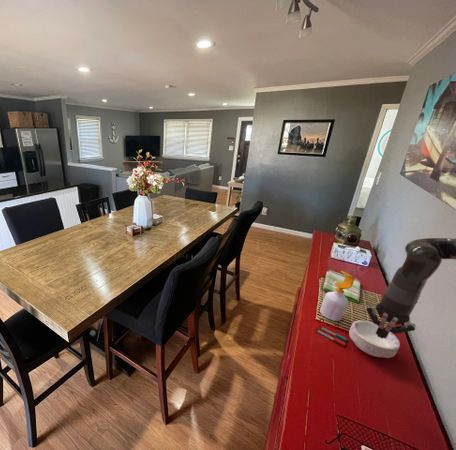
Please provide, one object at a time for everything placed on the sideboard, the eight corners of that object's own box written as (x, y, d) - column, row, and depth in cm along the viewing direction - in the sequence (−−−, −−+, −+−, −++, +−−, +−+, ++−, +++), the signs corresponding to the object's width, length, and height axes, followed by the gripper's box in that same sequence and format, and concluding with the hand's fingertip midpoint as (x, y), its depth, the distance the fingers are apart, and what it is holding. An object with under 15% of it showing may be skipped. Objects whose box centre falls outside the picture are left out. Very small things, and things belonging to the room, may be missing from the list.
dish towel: (359, 284, 143) (362, 279, 142) (359, 304, 126) (362, 298, 125) (326, 273, 153) (327, 268, 152) (321, 290, 136) (323, 285, 135)
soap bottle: (315, 308, 122) (330, 267, 112) (331, 307, 123) (347, 267, 114) (328, 322, 114) (346, 279, 104) (346, 320, 115) (364, 278, 105)
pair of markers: (344, 344, 102) (345, 342, 102) (344, 346, 101) (344, 345, 101) (318, 330, 109) (319, 328, 108) (317, 332, 108) (317, 330, 107)
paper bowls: (339, 330, 109) (345, 317, 106) (376, 335, 107) (383, 322, 104) (359, 359, 95) (366, 345, 92) (402, 367, 93) (411, 352, 90)
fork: (346, 340, 104) (347, 338, 104) (345, 342, 103) (346, 340, 103) (322, 327, 111) (322, 325, 110) (321, 329, 110) (321, 327, 109)
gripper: (429, 302, 76) (406, 342, 83) (376, 283, 86) (359, 320, 92) (428, 313, 72) (404, 354, 78) (372, 291, 81) (354, 330, 88)
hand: (380, 336), depth 85 cm, fingers closed
